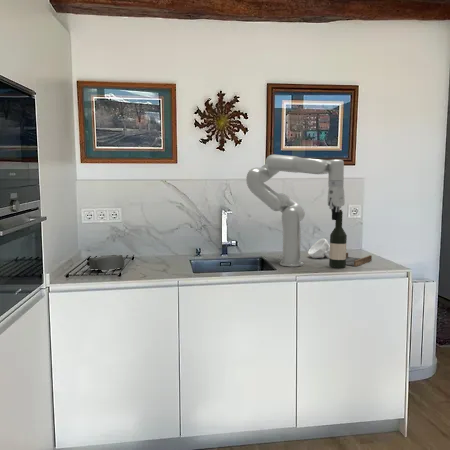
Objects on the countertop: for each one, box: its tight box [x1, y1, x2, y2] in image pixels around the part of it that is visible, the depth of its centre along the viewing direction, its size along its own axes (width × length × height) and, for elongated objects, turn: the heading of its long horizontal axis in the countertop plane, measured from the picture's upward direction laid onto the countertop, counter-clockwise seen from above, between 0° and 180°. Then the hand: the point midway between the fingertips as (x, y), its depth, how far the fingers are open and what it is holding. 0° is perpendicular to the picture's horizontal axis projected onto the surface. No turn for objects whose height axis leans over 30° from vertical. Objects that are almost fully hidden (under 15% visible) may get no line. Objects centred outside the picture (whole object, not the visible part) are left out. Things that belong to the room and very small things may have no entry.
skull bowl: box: [307, 237, 330, 259], centre depth 259 cm, size 10×14×12 cm
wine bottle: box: [328, 209, 348, 269], centre depth 232 cm, size 8×8×30 cm
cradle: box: [346, 252, 373, 268], centre depth 245 cm, size 15×20×3 cm
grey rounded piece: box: [86, 254, 126, 270], centre depth 232 cm, size 18×11×8 cm, turn 132°
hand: (335, 219), depth 228 cm, fingers closed
